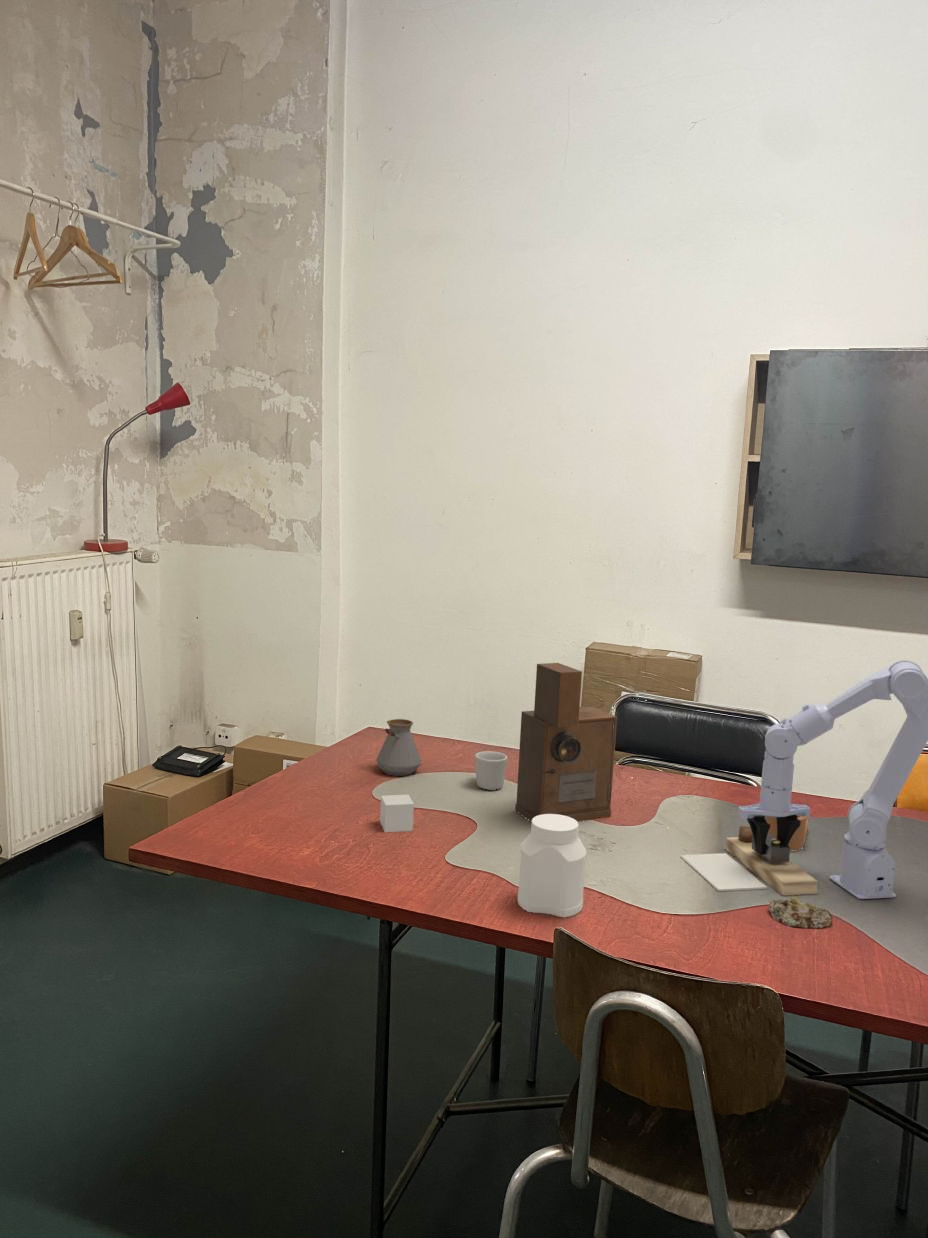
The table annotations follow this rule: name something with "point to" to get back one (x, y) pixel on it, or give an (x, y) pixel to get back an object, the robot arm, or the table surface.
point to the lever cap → (774, 850)
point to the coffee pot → (399, 749)
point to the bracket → (797, 837)
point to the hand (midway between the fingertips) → (770, 852)
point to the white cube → (396, 813)
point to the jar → (552, 867)
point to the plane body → (770, 867)
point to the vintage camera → (564, 750)
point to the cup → (490, 769)
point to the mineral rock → (799, 913)
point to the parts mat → (723, 872)
